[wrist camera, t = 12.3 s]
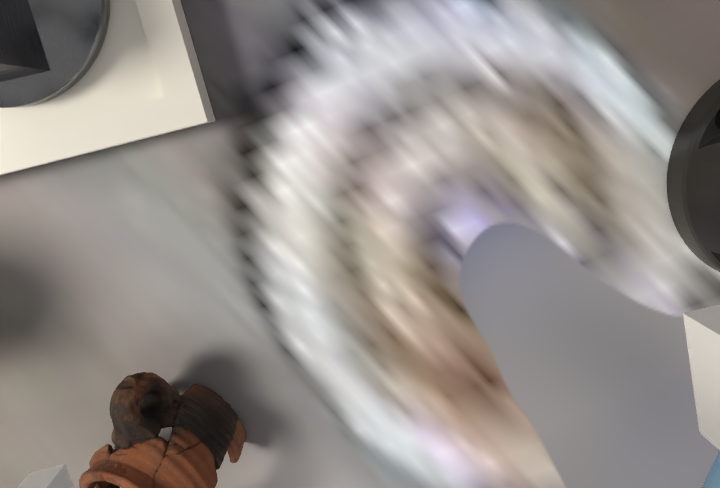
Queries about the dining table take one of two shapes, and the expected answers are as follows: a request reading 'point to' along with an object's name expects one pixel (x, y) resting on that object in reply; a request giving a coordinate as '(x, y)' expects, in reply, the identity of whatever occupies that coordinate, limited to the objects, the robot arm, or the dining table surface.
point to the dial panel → (116, 92)
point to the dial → (47, 47)
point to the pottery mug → (153, 453)
